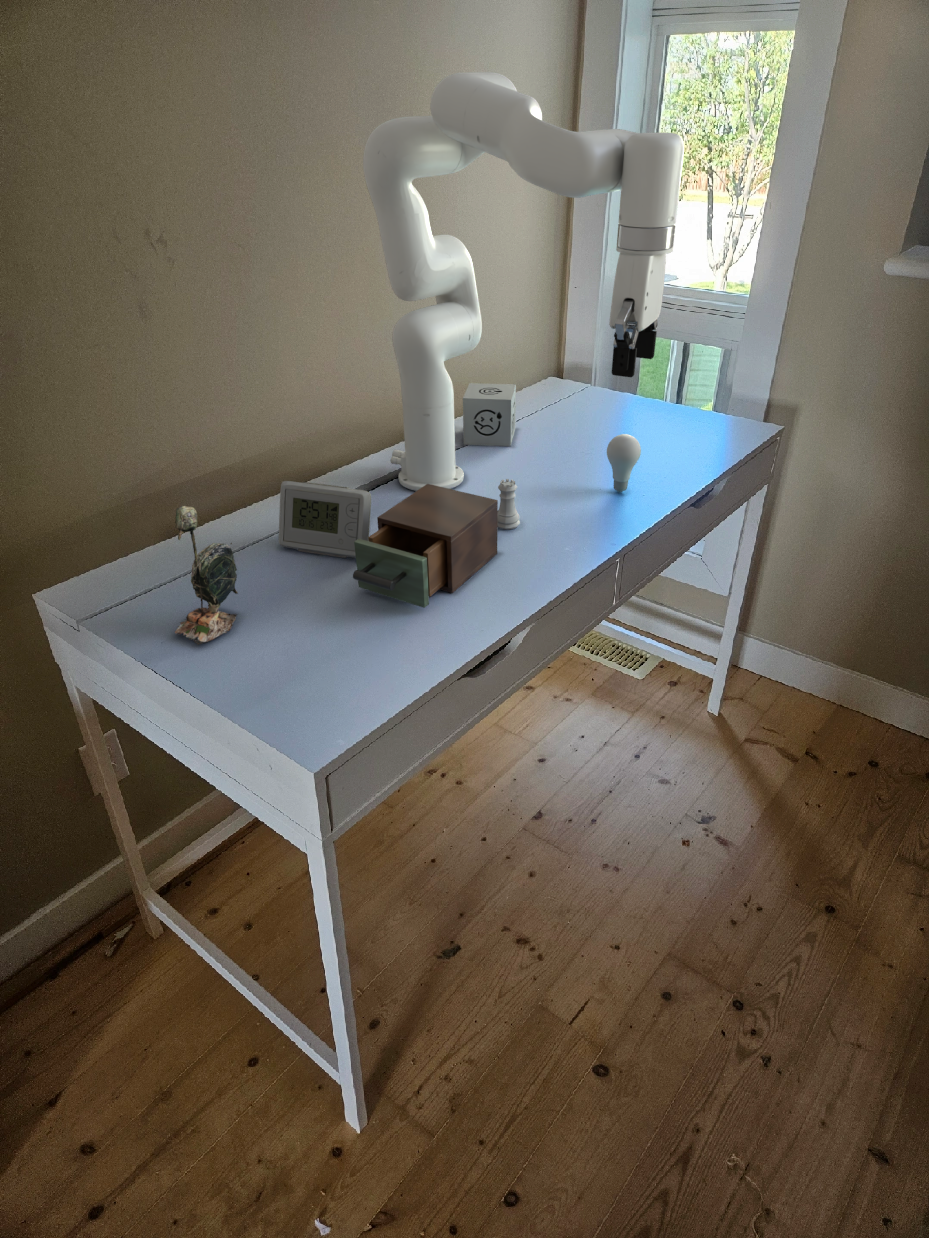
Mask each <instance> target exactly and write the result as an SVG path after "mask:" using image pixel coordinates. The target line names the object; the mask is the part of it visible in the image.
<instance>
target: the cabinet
mask: <svg viewBox="0 0 929 1238" xmlns="http://www.w3.org/2000/svg"><path fill="white" fill-rule="evenodd" d="M498 503H499V501H498V499H495V498H491V497H486V496H482V495H479V494H474V493H469V492H465V491H460V490H456V489H453V488H451V489H448V488H444V487H439V486H435V485H431V484H426V485H425V486H423V487H422V488H420V489H419V490H417V491H415V492H413V493H411V494H410V495H408V496H407V497H405V498H404V499H402V500H401V501H399V502H397V504H395V505H394V506H392V507H390V508H389V509H388V510H386V511H385V512H383V513H381V514H380V515H379V516H377V518H376V519H377V531H378V530H379V529H381V528H382V527H384V526H385V525H391V526H395V527H399V528H402V529H406V530H410V531H414V532H417V533H421V534H425V535H429V536H432V537H436V538H440V539H444V540H447V570H448V582H447V583H446V584H445V585H443V586H442V587H441V588H440V589H439V590H440V591H442V592H443V591H444V592H446V593H450V594H453V593H454V592H456V591H457V590H458V589H459V588H460V587H461V586H462V585H464V584H465V583H466V582H467V581H469V579H471V578H472V577H473V576H474V575H475V574H476V573H477V572H478V571H480V570H481V569H482V568H484V567H485V565H486V564H488V562H490V561H492V559H493V558H495V557H496V556H497V555H498V527H497V516H498V510H499V507H498V505H499V504H498Z"/></svg>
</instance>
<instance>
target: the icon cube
mask: <svg viewBox="0 0 929 1238" xmlns="http://www.w3.org/2000/svg"><path fill="white" fill-rule="evenodd" d="M516 399H517V384H514V383H513V384H512V383H481V382H480V383H479V382H476V383H475V382H469V383H468V386H467V388H466V390H465V392H464V394H463V397H462V426H463V427H462V433H463V435H462V436H463V438H462V439H463V445H464V446H486V447H489V446H490V447H512V443H513V439H514V436H515V431H516V407H517V406H516V402H517V401H516Z"/></svg>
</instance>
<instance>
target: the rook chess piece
mask: <svg viewBox="0 0 929 1238" xmlns="http://www.w3.org/2000/svg"><path fill="white" fill-rule="evenodd" d="M499 483H500V484H499V485H498V486H497V489H498V490H499V492H500V494H499V495H498V496H499V498H500V499H499V500H500V501H499V507H498V516H497V529H498V528H499V529H501V530H506V531H510V530H515V529H516V528H518V526H520V524H521V521H520V519H521V517H520V514H519V513H518V510H517V508H516V503H515V499H516V496H517V495H516V493H515V492H516V490H517V489H518V485H517V484H516V481H515V480H514V479H509V478H505V479H501V481H500V482H499Z"/></svg>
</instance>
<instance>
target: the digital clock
mask: <svg viewBox="0 0 929 1238" xmlns="http://www.w3.org/2000/svg"><path fill="white" fill-rule="evenodd" d="M279 491H280V492H279V494H280V495H279V514H278V517H279V518H278V519H279V520H278V544H279V545H280V547H283V548H285V549H286V548H287V549H293V550H297V552H304V553H310V554H316V555H322V556H323V555H324V556H328V557H337V558H343V559H347V558H353V559H356V555H355V545H354V542H355V541H356V540H358V539H362V540H366V541H369V539H368V537H369V536H370V528H371V527H370V526H371V512H372V494H371V492H369V491H367V490H363V489H356V488H350V487H348V486H340V485H333V484H324V483H317V482H309V481H304V482H301V481H300V482H298V481H291V480H283V481H282V482H281V484H280V490H279Z"/></svg>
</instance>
